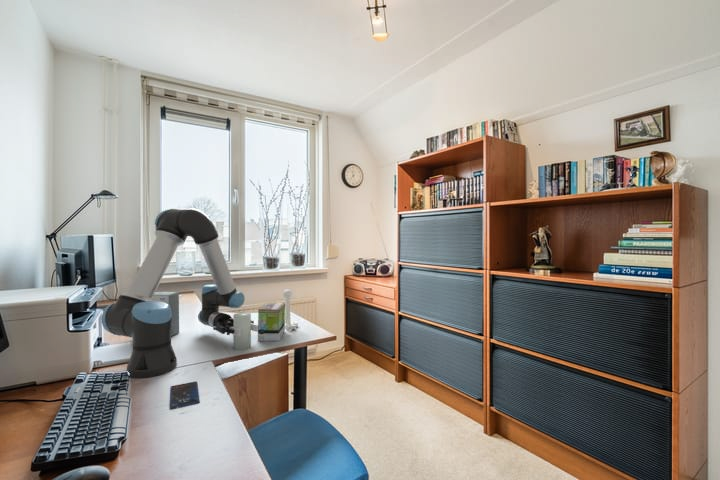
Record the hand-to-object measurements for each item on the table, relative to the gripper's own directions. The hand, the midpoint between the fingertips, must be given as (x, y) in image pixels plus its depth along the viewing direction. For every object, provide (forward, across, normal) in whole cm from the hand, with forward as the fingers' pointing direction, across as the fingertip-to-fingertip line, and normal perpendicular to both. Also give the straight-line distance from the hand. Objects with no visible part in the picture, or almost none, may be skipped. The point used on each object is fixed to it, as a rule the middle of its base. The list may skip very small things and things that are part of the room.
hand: (248, 330), depth 137 cm
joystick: (-12, -32, -8) cm, 35 cm away
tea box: (-7, -17, -8) cm, 20 cm away
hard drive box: (-50, +16, -8) cm, 53 cm away
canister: (-5, 0, -8) cm, 9 cm away
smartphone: (+19, +34, -9) cm, 40 cm away
